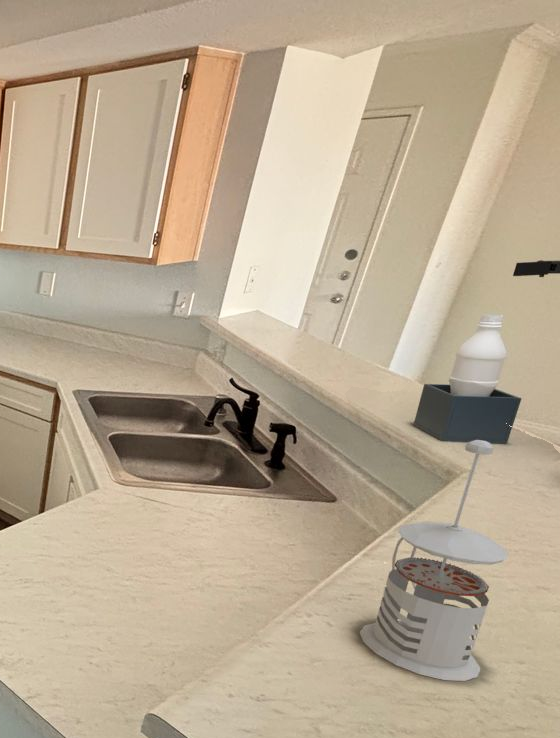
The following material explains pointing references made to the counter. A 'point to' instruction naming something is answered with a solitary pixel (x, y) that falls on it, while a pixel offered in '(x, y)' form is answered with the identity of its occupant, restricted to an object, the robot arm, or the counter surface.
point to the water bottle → (479, 360)
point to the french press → (435, 597)
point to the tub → (466, 415)
